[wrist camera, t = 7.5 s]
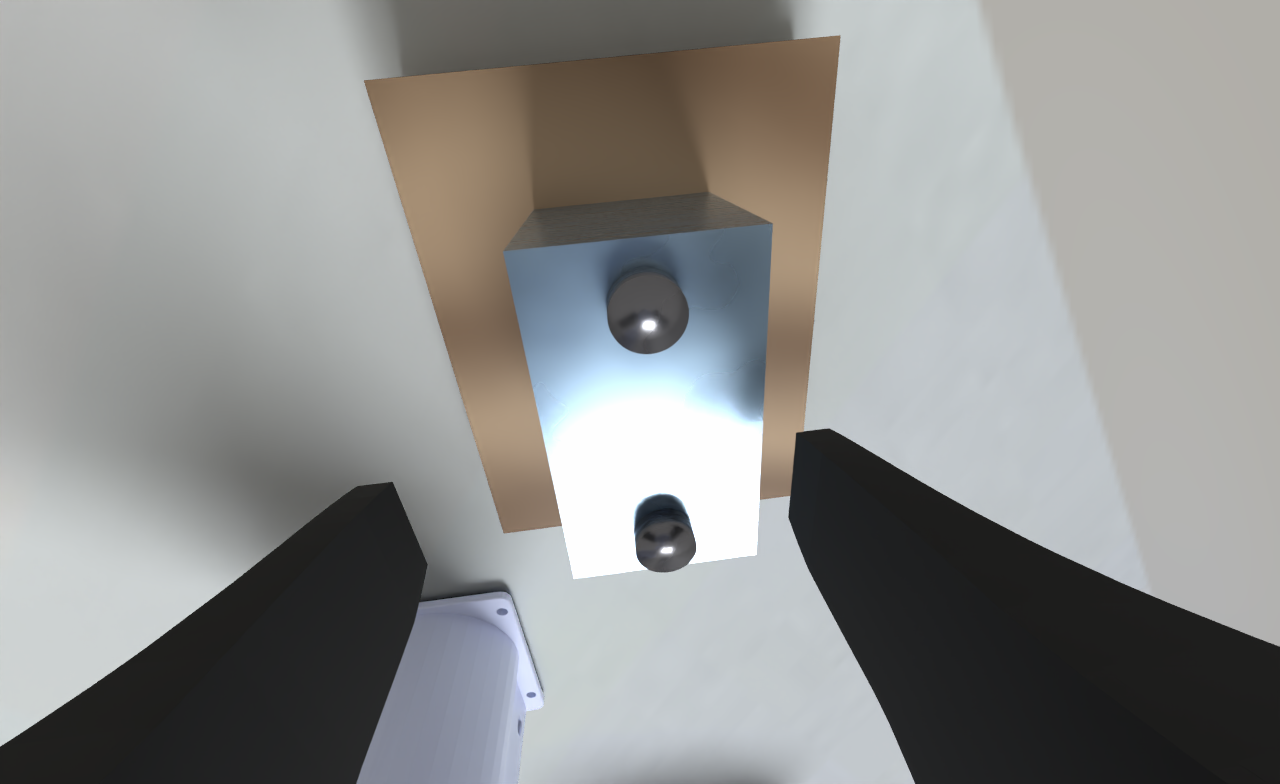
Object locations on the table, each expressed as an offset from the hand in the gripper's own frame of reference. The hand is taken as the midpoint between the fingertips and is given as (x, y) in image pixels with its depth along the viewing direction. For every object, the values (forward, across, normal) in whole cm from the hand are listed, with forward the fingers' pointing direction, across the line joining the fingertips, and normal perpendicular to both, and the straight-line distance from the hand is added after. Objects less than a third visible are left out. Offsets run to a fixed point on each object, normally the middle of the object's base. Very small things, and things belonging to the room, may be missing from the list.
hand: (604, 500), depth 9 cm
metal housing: (+6, -1, 0) cm, 7 cm away
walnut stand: (+9, -1, 0) cm, 9 cm away
